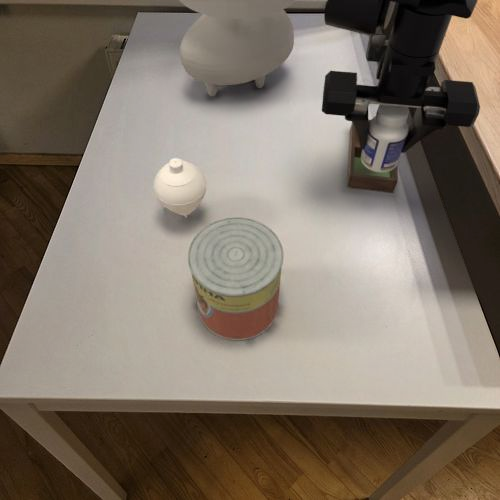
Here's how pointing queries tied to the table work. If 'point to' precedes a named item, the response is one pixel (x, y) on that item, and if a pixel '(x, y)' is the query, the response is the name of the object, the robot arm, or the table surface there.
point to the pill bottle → (385, 138)
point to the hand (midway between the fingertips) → (382, 148)
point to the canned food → (236, 277)
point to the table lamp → (236, 41)
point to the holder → (367, 170)
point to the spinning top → (180, 186)
